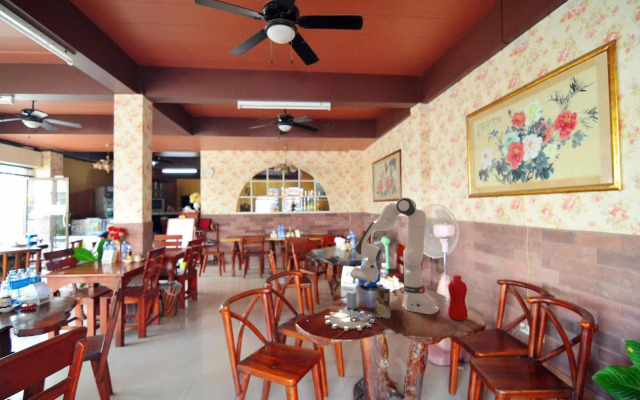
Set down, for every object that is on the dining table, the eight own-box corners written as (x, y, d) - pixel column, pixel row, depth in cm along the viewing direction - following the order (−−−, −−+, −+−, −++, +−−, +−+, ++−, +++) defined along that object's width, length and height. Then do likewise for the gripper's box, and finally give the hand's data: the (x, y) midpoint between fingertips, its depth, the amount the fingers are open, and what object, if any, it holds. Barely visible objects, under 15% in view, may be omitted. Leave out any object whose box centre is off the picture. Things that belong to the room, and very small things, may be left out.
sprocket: (383, 319, 178) (383, 316, 178) (354, 336, 157) (354, 332, 157) (344, 308, 198) (344, 305, 198) (314, 321, 176) (314, 318, 176)
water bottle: (444, 317, 180) (443, 275, 180) (455, 313, 186) (455, 273, 186) (458, 322, 172) (457, 278, 172) (469, 318, 178) (469, 276, 178)
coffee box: (391, 315, 185) (390, 288, 185) (389, 318, 179) (389, 291, 179) (376, 313, 188) (375, 287, 189) (374, 317, 182) (373, 290, 183)
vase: (384, 287, 244) (383, 263, 244) (362, 289, 240) (362, 265, 240) (375, 281, 261) (374, 259, 262) (354, 283, 258) (354, 260, 258)
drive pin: (356, 307, 200) (356, 292, 200) (352, 309, 196) (352, 293, 196) (351, 305, 203) (351, 290, 203) (347, 307, 199) (346, 292, 199)
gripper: (353, 262, 219) (345, 279, 212) (377, 267, 205) (369, 284, 198) (357, 268, 222) (348, 284, 215) (381, 272, 208) (373, 289, 201)
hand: (359, 284), depth 206 cm, fingers open, 8 cm apart
